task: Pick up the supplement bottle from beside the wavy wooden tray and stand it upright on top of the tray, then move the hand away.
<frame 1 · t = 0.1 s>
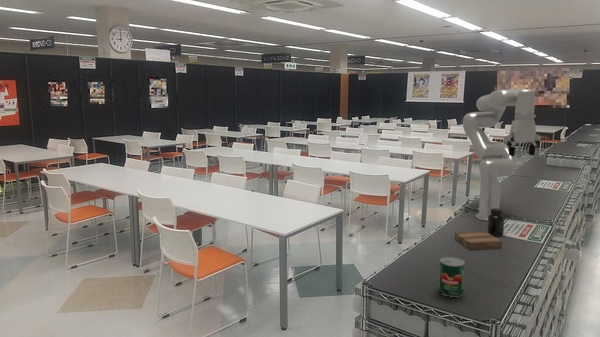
hand: (521, 155, 189), 37 cm above the shelf top, tool pointing down, fingers open, 9 cm apart
supplement bottle: (495, 234, 193), on the shelf top
wavy wooden tray: (477, 243, 182), on the shelf top
canned tomato: (450, 292, 138), on the shelf top
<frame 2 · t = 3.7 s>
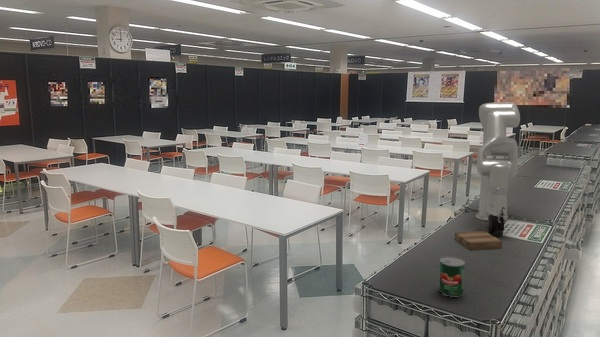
hand: (495, 227, 193), 3 cm above the shelf top, tool pointing down, fingers closed on supplement bottle, 6 cm apart
supplement bottle: (495, 234, 193), on the shelf top, touching gripper
everything else where it was.
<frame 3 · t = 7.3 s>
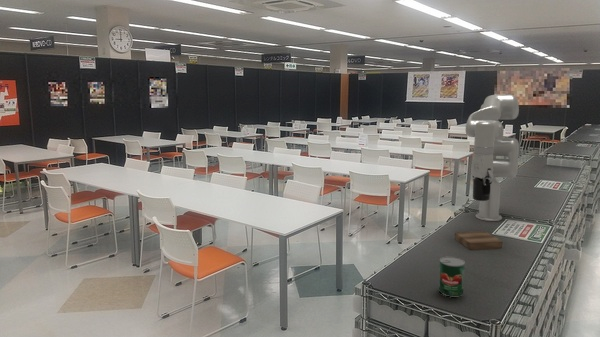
hand: (481, 191, 179), 23 cm above the shelf top, tool pointing down, fingers closed on supplement bottle, 6 cm apart
supplement bottle: (480, 199, 179), point 20 cm above the shelf top, touching gripper
everything else where it was.
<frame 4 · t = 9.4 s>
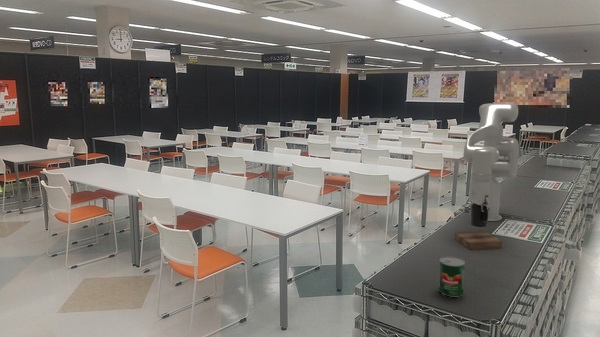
hand: (478, 217, 180), 12 cm above the shelf top, tool pointing down, fingers closed on supplement bottle, 6 cm apart
supplement bottle: (478, 225, 181), point 8 cm above the shelf top, touching gripper
everything else where it was.
when the fingers open (8 cm above the shelf top, at t = 11.2 s): supplement bottle drops 1 cm, resting on wavy wooden tray.
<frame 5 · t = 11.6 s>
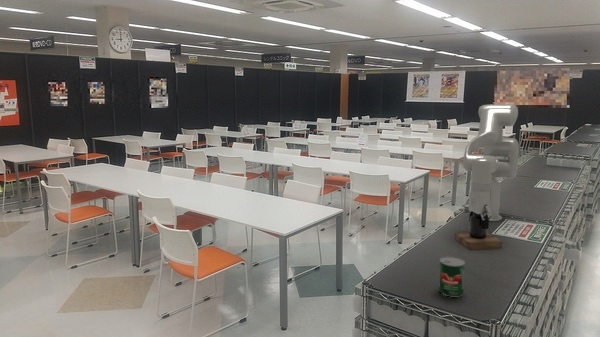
hand: (478, 225, 181), 8 cm above the shelf top, tool pointing down, fingers open, 9 cm apart
supplement bottle: (477, 237, 182), point 3 cm above the shelf top, touching wavy wooden tray
everything else where it was.
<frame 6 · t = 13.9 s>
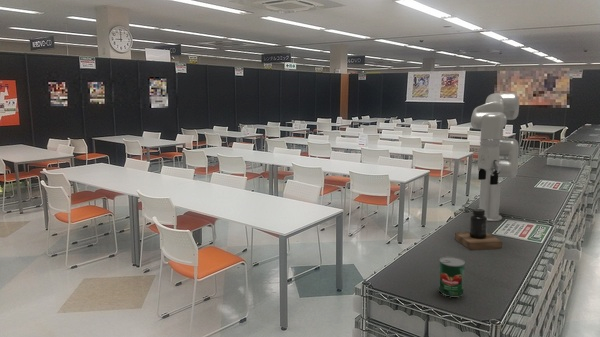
hand: (487, 181, 181), 27 cm above the shelf top, tool pointing down, fingers open, 9 cm apart
nothing on the shelf top moved.
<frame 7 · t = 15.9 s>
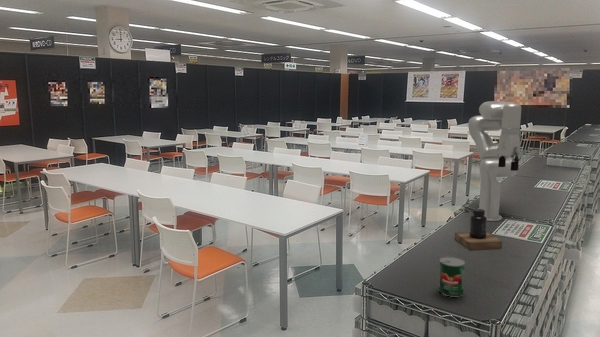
hand: (507, 168, 191), 30 cm above the shelf top, tool pointing down, fingers open, 9 cm apart
nothing on the shelf top moved.
at the end: supplement bottle inside the target area on the wavy wooden tray (0.4 cm from its centre), point 2.8 cm above the wavy wooden tray's base; supplement bottle tilted 0°; the gripper is holding nothing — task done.
